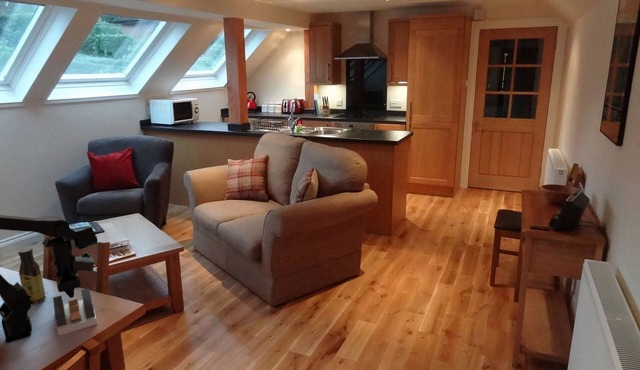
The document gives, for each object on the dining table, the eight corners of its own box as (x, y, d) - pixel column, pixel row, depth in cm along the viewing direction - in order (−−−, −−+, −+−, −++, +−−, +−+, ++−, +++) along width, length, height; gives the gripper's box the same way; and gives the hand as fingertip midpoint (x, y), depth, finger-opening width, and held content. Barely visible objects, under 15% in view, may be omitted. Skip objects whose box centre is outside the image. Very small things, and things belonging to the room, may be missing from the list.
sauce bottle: (21, 302, 157) (8, 251, 151) (39, 294, 162) (27, 244, 156) (33, 307, 154) (20, 254, 148) (50, 298, 159) (38, 247, 153)
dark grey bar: (57, 327, 139) (54, 315, 138) (55, 309, 149) (53, 297, 147) (66, 324, 140) (63, 312, 139) (63, 306, 150) (61, 295, 149)
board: (97, 323, 144) (96, 318, 143) (58, 335, 138) (57, 329, 138) (92, 302, 156) (91, 297, 155) (56, 312, 150) (54, 307, 150)
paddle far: (69, 307, 149) (68, 301, 149) (69, 306, 150) (68, 300, 150) (78, 304, 150) (77, 299, 150) (78, 303, 151) (76, 298, 151)
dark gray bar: (86, 318, 143) (84, 306, 142) (83, 301, 153) (80, 290, 151) (95, 316, 144) (92, 304, 143) (91, 299, 154) (88, 288, 153)
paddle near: (71, 320, 142) (70, 314, 141) (71, 319, 143) (70, 313, 142) (80, 317, 143) (79, 311, 143) (80, 316, 144) (79, 310, 144)
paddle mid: (70, 313, 145) (69, 307, 145) (70, 312, 146) (69, 306, 146) (79, 311, 147) (78, 305, 146) (79, 310, 148) (78, 304, 147)
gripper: (93, 259, 141) (102, 302, 145) (87, 238, 156) (95, 278, 161) (53, 268, 135) (63, 313, 140) (50, 246, 150) (59, 287, 155)
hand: (71, 297), depth 149 cm, fingers closed
